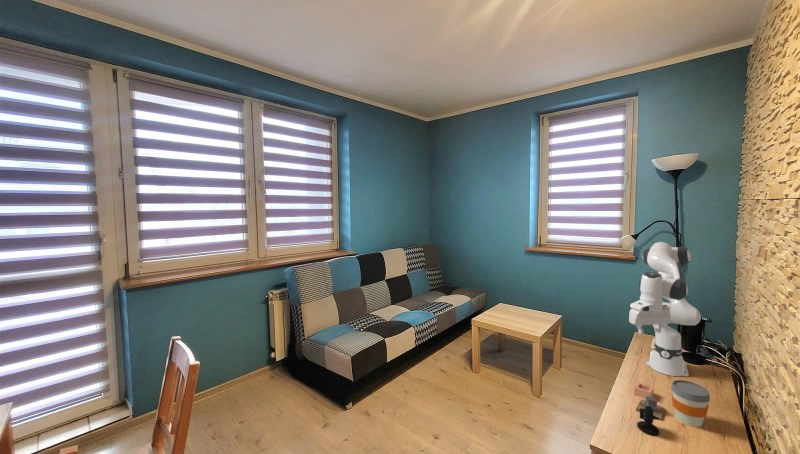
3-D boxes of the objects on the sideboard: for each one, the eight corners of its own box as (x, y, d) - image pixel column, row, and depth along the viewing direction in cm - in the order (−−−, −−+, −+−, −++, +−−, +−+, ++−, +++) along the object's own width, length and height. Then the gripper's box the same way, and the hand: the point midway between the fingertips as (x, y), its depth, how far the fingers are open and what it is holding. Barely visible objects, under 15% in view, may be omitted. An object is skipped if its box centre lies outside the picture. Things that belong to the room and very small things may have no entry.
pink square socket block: (637, 389, 162) (637, 381, 162) (653, 395, 157) (653, 387, 157) (633, 394, 158) (634, 387, 158) (650, 400, 153) (650, 392, 153)
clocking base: (641, 401, 153) (641, 389, 152) (665, 410, 146) (665, 397, 145) (636, 410, 146) (636, 398, 146) (660, 420, 139) (661, 407, 139)
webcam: (637, 420, 139) (638, 399, 139) (659, 428, 135) (660, 406, 134) (636, 430, 133) (637, 408, 133) (659, 438, 129) (660, 415, 128)
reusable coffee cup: (662, 410, 146) (664, 379, 145) (690, 410, 145) (692, 379, 144) (686, 430, 133) (688, 396, 132) (716, 430, 133) (719, 396, 132)
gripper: (663, 302, 160) (661, 329, 161) (627, 304, 157) (625, 331, 158) (675, 306, 154) (674, 334, 155) (638, 308, 151) (636, 336, 152)
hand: (649, 332), depth 156 cm, fingers open, 8 cm apart
